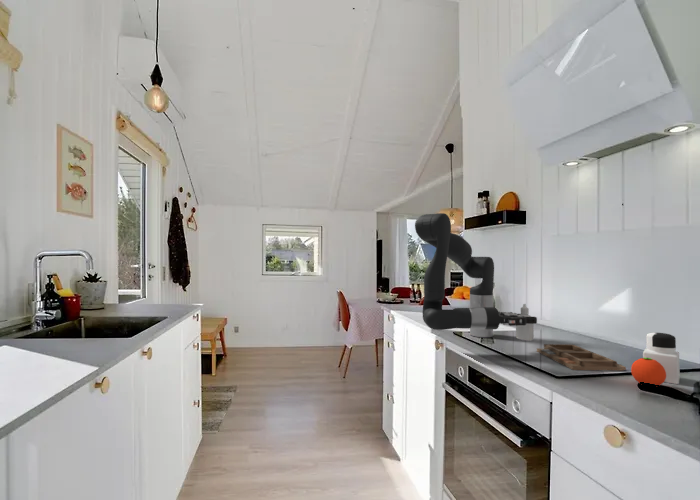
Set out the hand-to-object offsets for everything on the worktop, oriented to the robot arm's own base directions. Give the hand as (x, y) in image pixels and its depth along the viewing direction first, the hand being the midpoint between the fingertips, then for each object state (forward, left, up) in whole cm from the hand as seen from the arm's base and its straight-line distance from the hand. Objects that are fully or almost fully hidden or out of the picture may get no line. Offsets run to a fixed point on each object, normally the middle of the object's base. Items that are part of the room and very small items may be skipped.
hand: (531, 318), depth 127 cm
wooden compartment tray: (+8, +10, -12) cm, 18 cm away
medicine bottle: (+26, +22, -12) cm, 37 cm away
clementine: (+32, +14, -12) cm, 37 cm away
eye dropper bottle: (0, -3, -7) cm, 8 cm away
